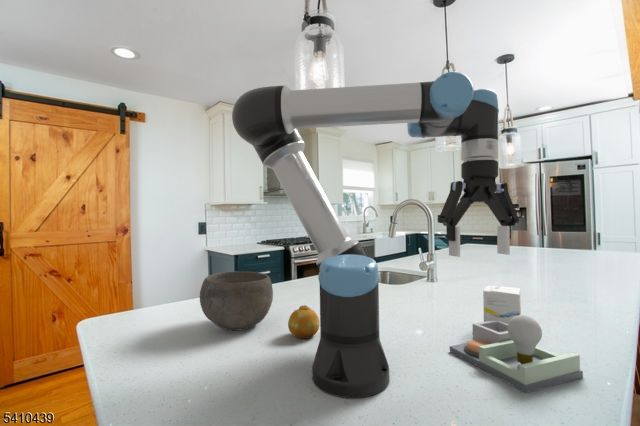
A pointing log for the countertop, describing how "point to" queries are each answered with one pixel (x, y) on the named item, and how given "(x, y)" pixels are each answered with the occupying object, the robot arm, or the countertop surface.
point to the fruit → (303, 322)
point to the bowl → (236, 298)
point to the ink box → (501, 303)
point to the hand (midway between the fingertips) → (479, 255)
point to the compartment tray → (505, 364)
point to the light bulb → (524, 336)
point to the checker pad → (475, 345)
